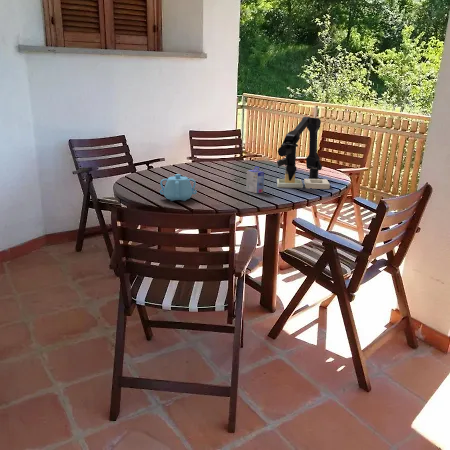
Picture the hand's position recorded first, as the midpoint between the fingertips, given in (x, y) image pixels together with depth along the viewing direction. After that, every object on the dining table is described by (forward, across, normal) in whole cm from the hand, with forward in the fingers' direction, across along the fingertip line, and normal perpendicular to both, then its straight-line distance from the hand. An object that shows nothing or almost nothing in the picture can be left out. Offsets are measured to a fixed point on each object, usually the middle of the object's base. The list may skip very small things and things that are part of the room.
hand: (289, 179), depth 277 cm
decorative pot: (+4, +41, -62) cm, 74 cm away
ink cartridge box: (+4, +19, -21) cm, 29 cm away
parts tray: (+4, 0, 0) cm, 4 cm away
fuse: (+2, 0, 0) cm, 2 cm away
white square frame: (+4, 0, +16) cm, 17 cm away
